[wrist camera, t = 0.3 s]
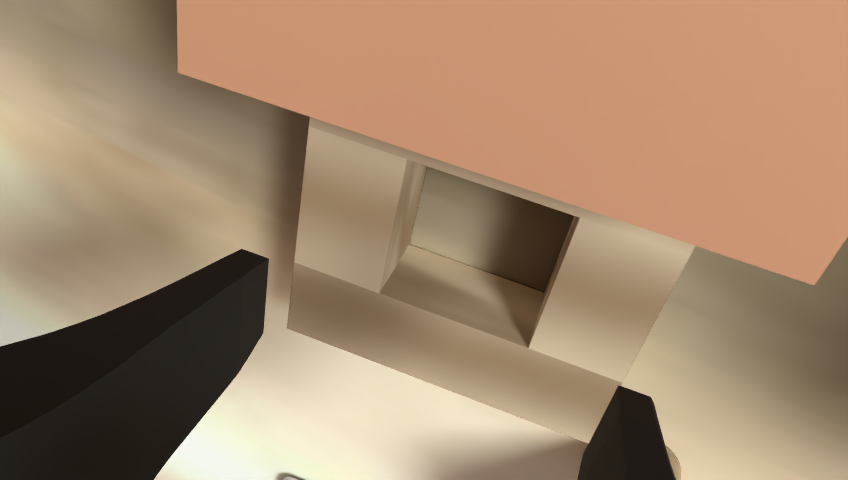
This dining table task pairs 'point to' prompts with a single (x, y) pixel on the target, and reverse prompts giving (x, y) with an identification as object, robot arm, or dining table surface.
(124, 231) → the dining table surface
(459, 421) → the dining table surface
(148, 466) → the robot arm
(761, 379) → the dining table surface
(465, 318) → the socket block
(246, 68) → the peach and white stand
